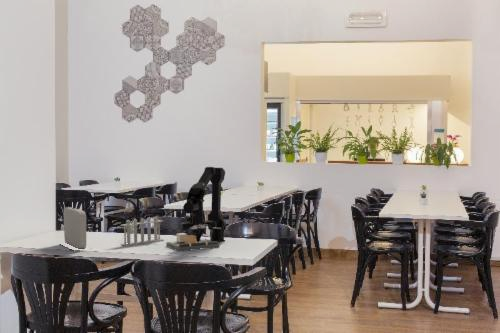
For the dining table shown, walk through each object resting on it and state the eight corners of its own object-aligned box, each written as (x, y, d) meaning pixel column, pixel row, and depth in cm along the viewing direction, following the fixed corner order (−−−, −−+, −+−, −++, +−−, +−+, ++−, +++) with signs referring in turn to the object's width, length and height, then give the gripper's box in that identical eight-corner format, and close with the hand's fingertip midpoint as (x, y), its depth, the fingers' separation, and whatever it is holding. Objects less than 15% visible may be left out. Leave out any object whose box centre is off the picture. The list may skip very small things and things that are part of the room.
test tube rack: (125, 246, 377) (124, 221, 377) (120, 245, 380) (120, 220, 380) (163, 240, 395) (163, 216, 394) (158, 240, 398) (158, 216, 397)
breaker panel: (205, 242, 386) (205, 238, 386) (219, 247, 370) (219, 243, 370) (166, 246, 376) (166, 242, 376) (179, 251, 360) (179, 246, 360)
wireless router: (94, 250, 366) (93, 211, 365) (75, 252, 361) (74, 212, 360) (75, 242, 393) (74, 205, 392) (57, 244, 388) (56, 206, 386)
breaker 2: (192, 242, 371) (192, 235, 371) (195, 244, 367) (195, 236, 367) (185, 243, 369) (185, 235, 369) (188, 244, 365) (188, 236, 365)
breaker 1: (183, 240, 379) (183, 233, 378) (187, 241, 375) (186, 234, 374) (176, 241, 377) (176, 233, 377) (179, 242, 373) (179, 234, 373)
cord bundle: (216, 243, 372) (216, 240, 372) (218, 243, 370) (218, 240, 370) (178, 246, 362) (178, 243, 362) (179, 247, 360) (179, 244, 360)
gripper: (207, 208, 380) (208, 238, 381) (174, 211, 372) (175, 241, 373) (216, 210, 370) (217, 241, 371) (182, 213, 362) (183, 244, 363)
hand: (197, 241), depth 370 cm, fingers closed
